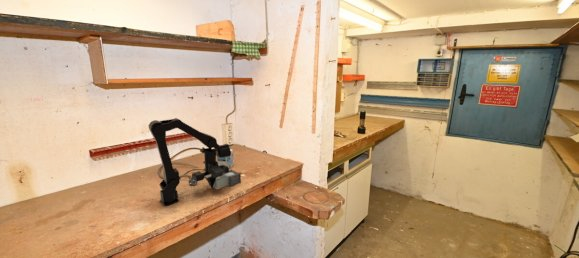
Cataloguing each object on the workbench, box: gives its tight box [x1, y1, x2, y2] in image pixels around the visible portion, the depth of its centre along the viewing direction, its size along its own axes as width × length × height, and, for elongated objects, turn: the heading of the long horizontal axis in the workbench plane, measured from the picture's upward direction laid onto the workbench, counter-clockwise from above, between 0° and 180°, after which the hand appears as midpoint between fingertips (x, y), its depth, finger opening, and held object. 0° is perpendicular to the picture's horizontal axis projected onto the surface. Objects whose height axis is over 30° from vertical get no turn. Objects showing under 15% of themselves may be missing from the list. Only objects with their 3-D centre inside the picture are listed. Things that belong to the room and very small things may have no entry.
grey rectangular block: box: [213, 172, 234, 190], centre depth 140 cm, size 12×4×5 cm, turn 137°
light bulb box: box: [216, 148, 235, 170], centre depth 165 cm, size 11×7×11 cm, turn 169°
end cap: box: [222, 169, 242, 187], centre depth 143 cm, size 6×8×6 cm
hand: (211, 187), depth 134 cm, fingers closed
